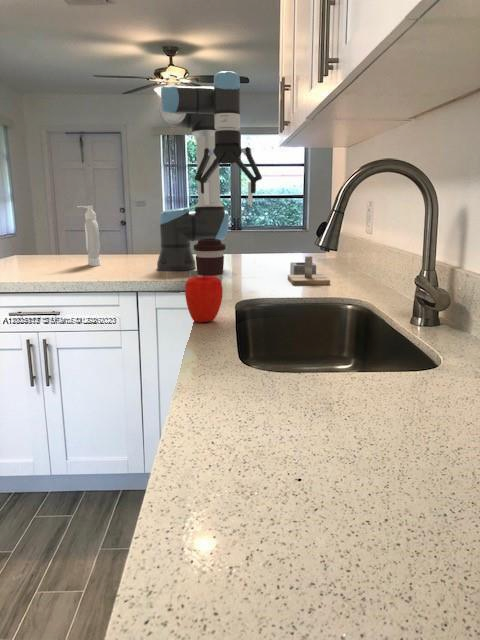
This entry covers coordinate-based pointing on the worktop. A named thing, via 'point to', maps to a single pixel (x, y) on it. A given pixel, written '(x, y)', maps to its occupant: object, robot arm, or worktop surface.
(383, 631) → the worktop surface
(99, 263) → the soap bottle
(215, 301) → the apple
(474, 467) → the worktop surface
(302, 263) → the gray square block
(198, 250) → the coffee cup
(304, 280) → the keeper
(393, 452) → the worktop surface
